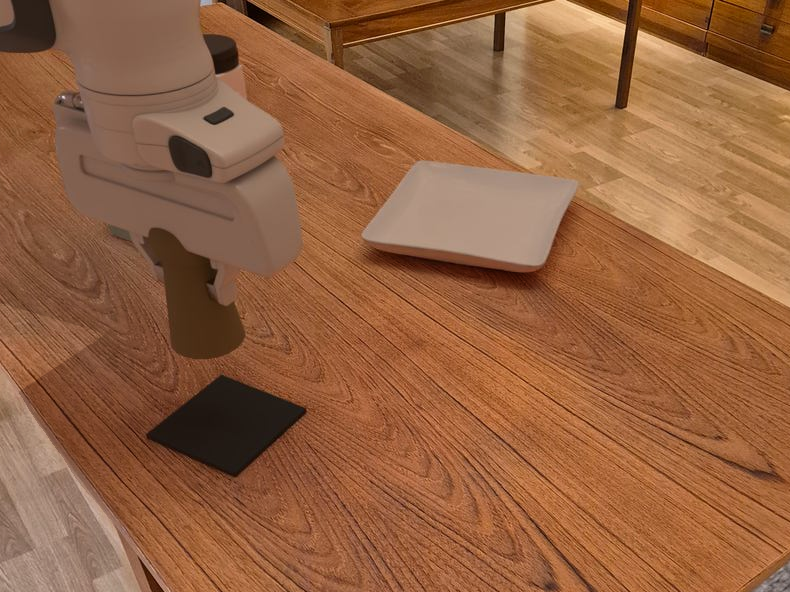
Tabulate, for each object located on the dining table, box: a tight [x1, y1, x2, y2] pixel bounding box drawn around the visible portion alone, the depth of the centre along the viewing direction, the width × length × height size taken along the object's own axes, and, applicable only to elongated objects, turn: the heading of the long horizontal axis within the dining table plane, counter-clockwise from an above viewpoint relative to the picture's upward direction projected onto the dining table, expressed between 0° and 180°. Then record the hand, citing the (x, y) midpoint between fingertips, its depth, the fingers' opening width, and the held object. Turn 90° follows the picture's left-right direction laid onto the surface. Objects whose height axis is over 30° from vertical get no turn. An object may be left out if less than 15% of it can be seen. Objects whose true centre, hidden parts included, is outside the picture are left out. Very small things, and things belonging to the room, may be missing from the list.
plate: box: [360, 159, 580, 273], centre depth 105 cm, size 21×21×3 cm
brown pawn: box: [148, 228, 246, 360], centre depth 70 cm, size 6×6×11 cm
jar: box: [202, 33, 249, 101], centre depth 120 cm, size 9×8×12 cm
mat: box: [145, 374, 307, 478], centre depth 80 cm, size 10×10×1 cm
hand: (196, 290), depth 70 cm, fingers closed on brown pawn, 4 cm apart
